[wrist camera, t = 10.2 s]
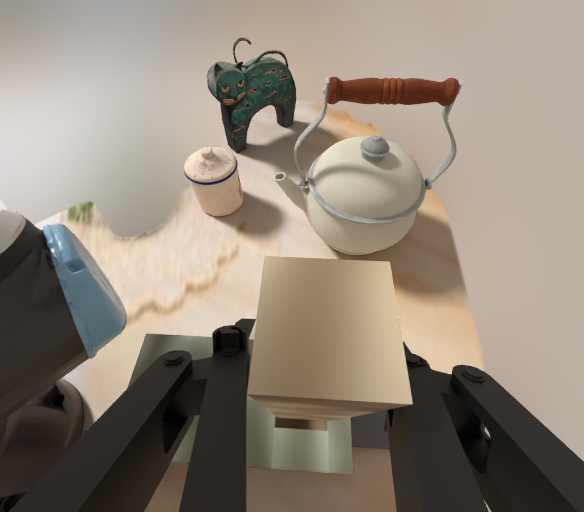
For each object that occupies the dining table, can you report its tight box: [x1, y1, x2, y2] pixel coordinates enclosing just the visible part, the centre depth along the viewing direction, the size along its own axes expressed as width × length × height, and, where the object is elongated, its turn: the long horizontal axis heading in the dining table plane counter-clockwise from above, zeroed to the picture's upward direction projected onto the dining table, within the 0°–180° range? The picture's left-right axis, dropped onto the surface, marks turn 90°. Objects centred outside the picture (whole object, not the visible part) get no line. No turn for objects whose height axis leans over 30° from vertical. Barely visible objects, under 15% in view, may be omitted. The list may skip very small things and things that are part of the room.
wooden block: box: [247, 256, 413, 421], centre depth 14 cm, size 4×4×16 cm
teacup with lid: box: [184, 147, 243, 216], centre depth 50 cm, size 12×9×12 cm
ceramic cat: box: [207, 38, 296, 153], centre depth 58 cm, size 20×6×20 cm, turn 130°
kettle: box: [274, 77, 462, 255], centre depth 40 cm, size 25×18×25 cm
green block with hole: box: [127, 334, 353, 475], centre depth 32 cm, size 24×12×7 cm, turn 87°
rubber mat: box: [350, 410, 390, 449], centre depth 34 cm, size 8×8×1 cm
